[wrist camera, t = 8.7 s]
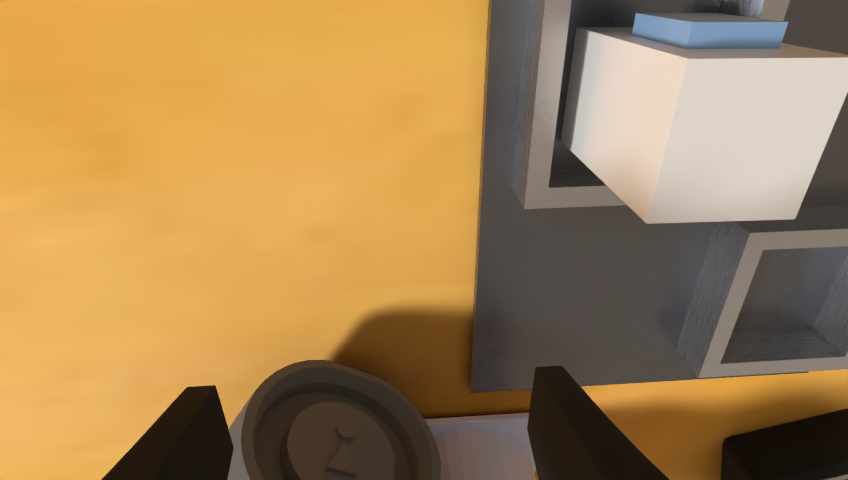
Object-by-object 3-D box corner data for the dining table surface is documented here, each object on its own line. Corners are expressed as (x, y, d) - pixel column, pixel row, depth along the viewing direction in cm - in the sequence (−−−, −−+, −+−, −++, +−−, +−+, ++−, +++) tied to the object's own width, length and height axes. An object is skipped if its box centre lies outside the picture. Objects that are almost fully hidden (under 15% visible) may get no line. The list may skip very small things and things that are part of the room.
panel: (801, 365, 26) (839, 401, 24) (469, 385, 25) (477, 424, 23) (1017, -76, 16) (1113, -84, 14) (492, -74, 15) (510, -81, 13)
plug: (661, 139, 19) (794, 219, 13) (560, 140, 19) (646, 223, 12) (694, 7, 17) (874, 27, 10) (579, 7, 16) (695, 28, 10)
